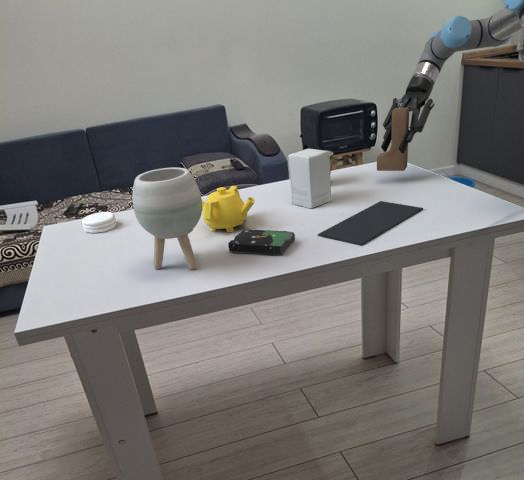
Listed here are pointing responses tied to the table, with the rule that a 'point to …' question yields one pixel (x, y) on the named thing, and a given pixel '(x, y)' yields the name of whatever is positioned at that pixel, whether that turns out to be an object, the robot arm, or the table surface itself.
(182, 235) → the planter
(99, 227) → the coaster
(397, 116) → the wooden block
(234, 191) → the teapot
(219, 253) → the table surface
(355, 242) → the mat
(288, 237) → the disk drive
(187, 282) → the table surface
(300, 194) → the white product box
